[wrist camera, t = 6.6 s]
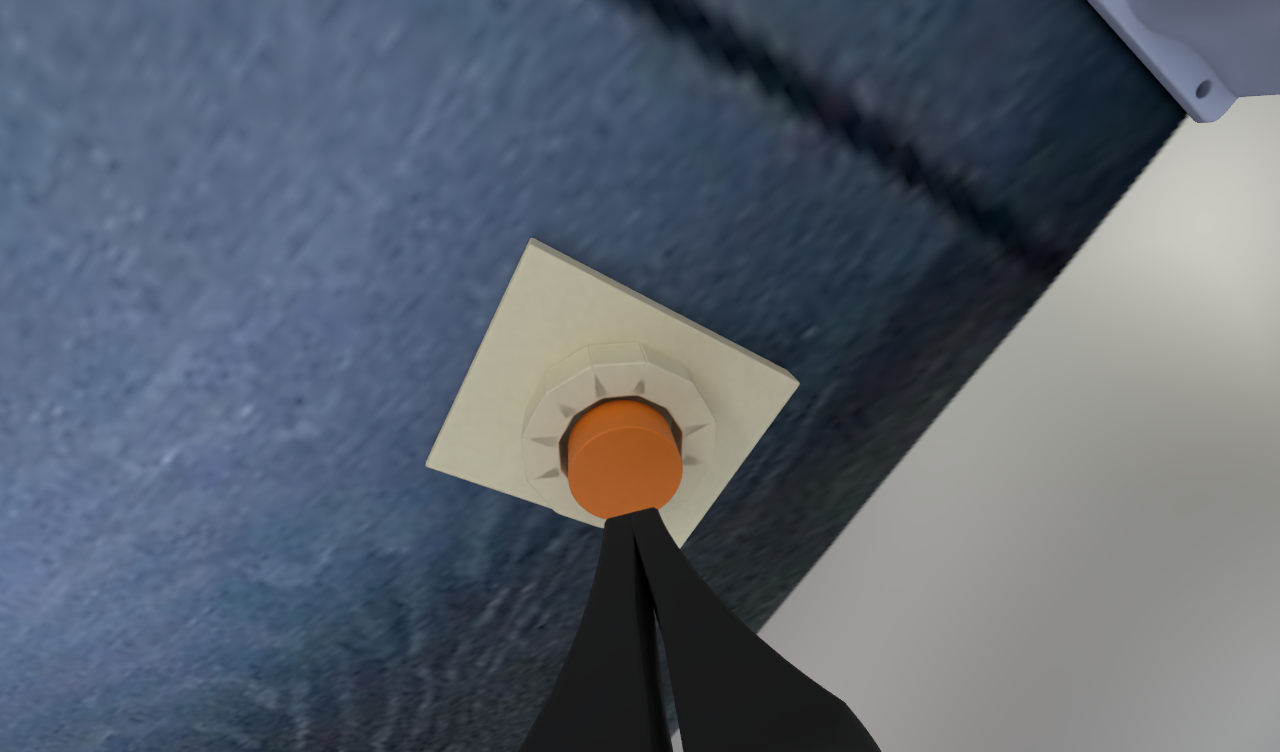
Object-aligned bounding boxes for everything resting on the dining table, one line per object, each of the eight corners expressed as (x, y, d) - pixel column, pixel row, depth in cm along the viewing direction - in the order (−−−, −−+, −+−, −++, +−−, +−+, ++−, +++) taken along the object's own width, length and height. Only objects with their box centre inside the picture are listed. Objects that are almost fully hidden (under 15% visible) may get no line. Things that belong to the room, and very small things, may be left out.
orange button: (691, 423, 17) (704, 452, 15) (640, 500, 18) (647, 534, 17) (598, 382, 16) (602, 408, 14) (549, 467, 17) (548, 500, 15)
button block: (788, 370, 20) (823, 406, 17) (672, 532, 22) (687, 585, 20) (531, 236, 16) (524, 255, 13) (431, 448, 19) (410, 499, 16)
